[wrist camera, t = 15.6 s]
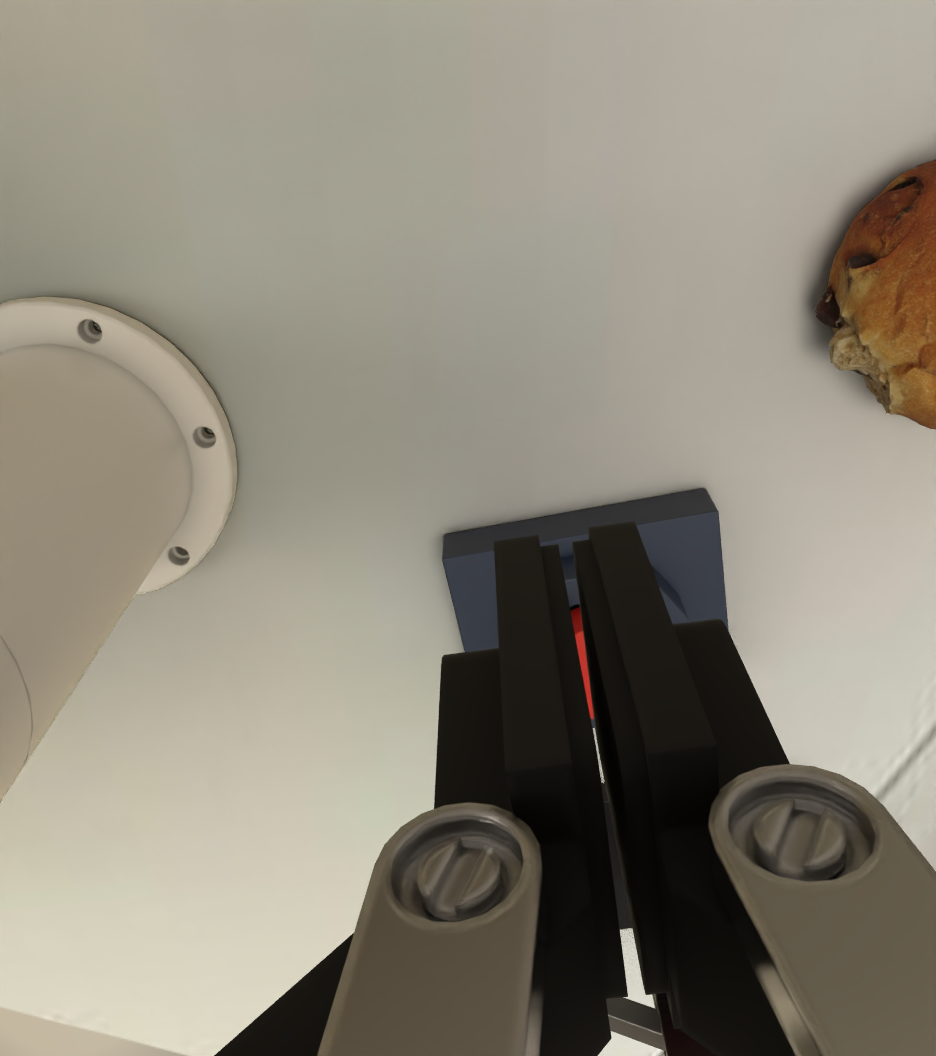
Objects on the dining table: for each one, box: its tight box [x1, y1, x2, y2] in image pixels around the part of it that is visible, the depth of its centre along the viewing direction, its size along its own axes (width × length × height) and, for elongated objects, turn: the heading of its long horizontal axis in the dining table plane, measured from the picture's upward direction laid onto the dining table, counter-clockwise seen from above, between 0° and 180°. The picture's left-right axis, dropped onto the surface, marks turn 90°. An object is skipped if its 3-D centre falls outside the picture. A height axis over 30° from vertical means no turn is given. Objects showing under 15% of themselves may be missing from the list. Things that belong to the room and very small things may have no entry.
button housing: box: [442, 488, 729, 728], centre depth 38 cm, size 11×9×4 cm
